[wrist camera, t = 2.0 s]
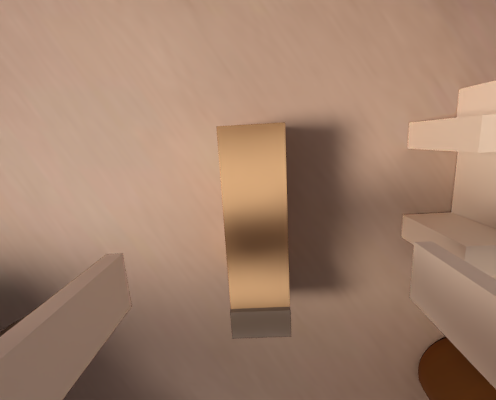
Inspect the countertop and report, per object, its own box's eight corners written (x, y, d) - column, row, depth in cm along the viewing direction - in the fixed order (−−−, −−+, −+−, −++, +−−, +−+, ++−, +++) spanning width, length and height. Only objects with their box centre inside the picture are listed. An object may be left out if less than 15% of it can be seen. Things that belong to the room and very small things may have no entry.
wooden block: (226, 129, 22) (215, 126, 16) (276, 126, 22) (285, 122, 15) (237, 288, 25) (232, 338, 19) (281, 286, 25) (291, 336, 19)
